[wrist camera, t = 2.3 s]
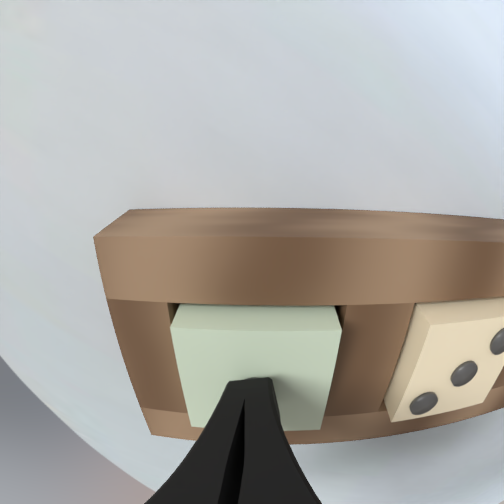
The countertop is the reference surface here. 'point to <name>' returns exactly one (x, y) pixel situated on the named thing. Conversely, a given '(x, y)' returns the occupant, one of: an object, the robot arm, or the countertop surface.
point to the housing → (295, 295)
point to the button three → (447, 357)
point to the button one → (257, 356)
